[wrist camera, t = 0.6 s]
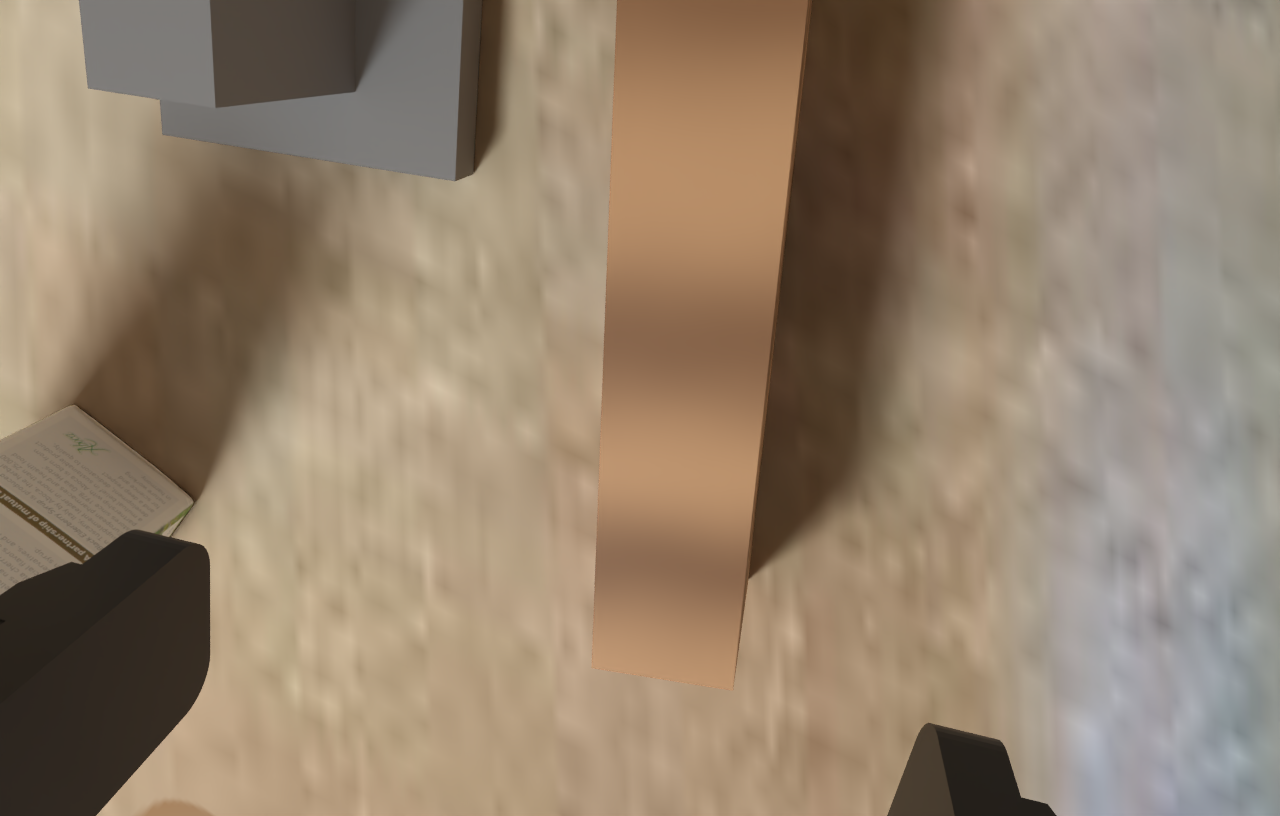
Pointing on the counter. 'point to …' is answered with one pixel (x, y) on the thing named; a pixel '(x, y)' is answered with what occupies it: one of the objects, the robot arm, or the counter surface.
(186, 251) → the counter surface
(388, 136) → the ridge stand
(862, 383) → the counter surface
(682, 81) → the wooden beam
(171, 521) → the syrup box
